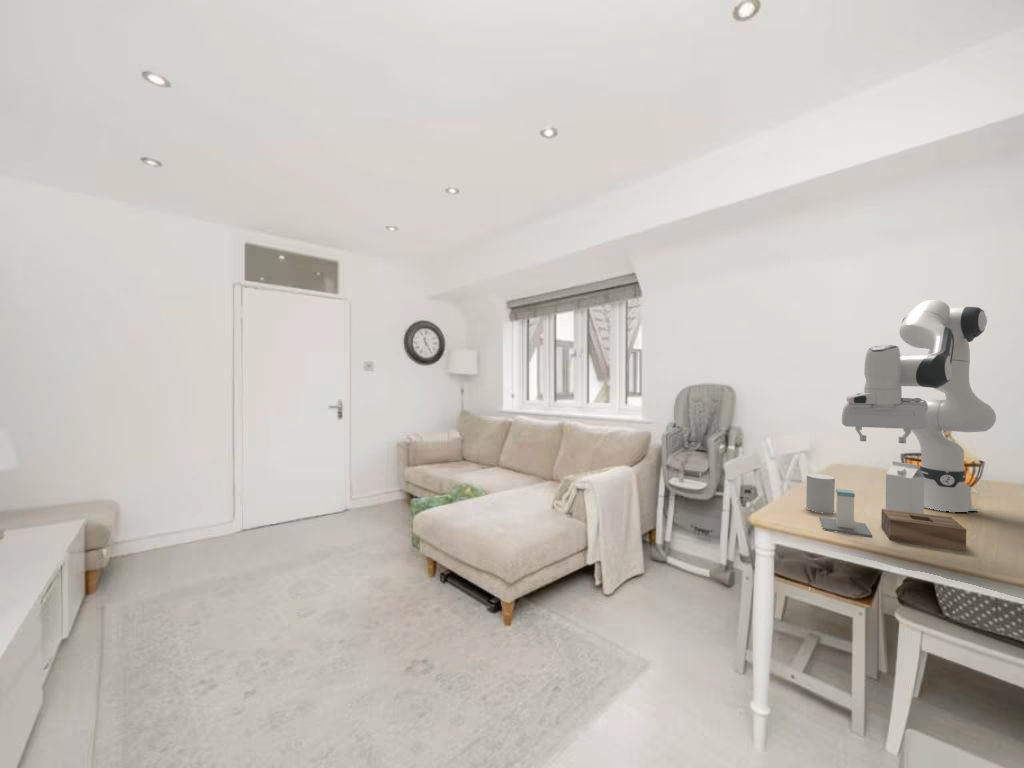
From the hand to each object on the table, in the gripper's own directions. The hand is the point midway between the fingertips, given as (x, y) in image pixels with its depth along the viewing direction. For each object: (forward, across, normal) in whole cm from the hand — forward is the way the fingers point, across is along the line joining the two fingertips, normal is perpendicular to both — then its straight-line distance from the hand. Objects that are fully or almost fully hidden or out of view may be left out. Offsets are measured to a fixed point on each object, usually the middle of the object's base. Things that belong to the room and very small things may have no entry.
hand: (882, 442), depth 136 cm
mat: (+27, +10, +5) cm, 29 cm away
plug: (+26, +10, +5) cm, 29 cm away
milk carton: (+28, -8, -14) cm, 33 cm away
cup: (+28, +15, -13) cm, 34 cm away
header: (+27, -8, +5) cm, 29 cm away
